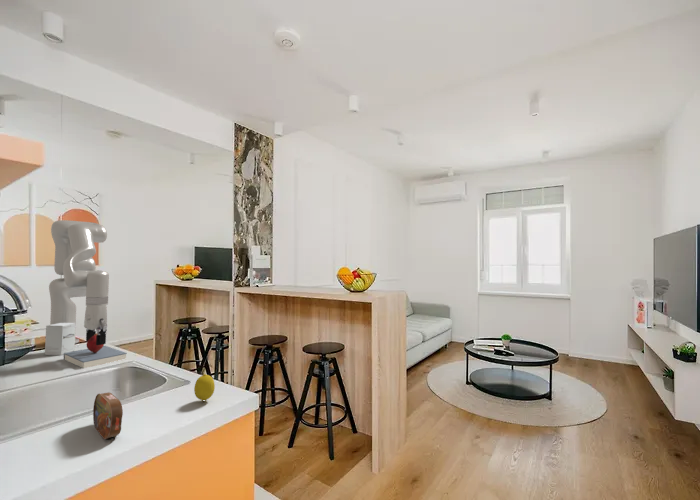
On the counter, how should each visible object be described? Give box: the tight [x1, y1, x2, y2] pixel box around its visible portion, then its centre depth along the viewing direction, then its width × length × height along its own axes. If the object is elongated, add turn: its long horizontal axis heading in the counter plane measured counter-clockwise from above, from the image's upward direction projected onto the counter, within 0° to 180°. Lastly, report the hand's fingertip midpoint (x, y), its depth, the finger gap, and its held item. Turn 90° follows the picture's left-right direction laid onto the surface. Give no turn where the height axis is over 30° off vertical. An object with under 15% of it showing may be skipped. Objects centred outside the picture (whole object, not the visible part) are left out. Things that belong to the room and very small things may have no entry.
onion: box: [86, 332, 105, 353], centre depth 143 cm, size 6×6×8 cm
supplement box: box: [44, 322, 77, 356], centre depth 151 cm, size 7×7×13 cm
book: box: [63, 345, 127, 369], centre depth 143 cm, size 20×15×3 cm
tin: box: [92, 391, 124, 440], centre depth 84 cm, size 15×3×8 cm, turn 48°
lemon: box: [194, 373, 216, 401], centre depth 102 cm, size 6×6×8 cm
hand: (95, 342), depth 143 cm, fingers open, 9 cm apart
